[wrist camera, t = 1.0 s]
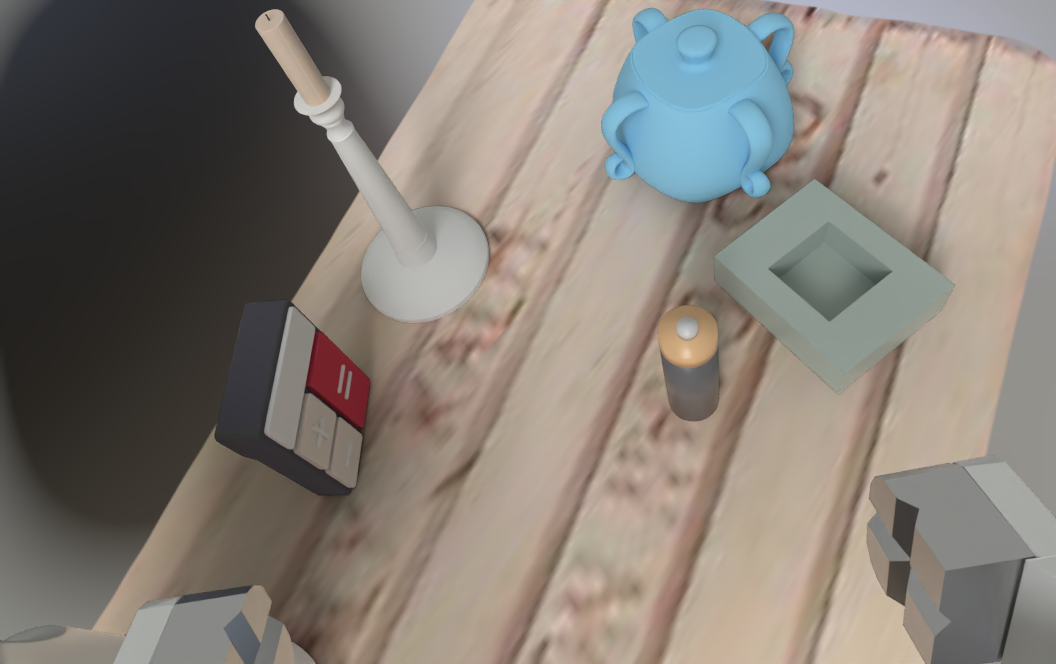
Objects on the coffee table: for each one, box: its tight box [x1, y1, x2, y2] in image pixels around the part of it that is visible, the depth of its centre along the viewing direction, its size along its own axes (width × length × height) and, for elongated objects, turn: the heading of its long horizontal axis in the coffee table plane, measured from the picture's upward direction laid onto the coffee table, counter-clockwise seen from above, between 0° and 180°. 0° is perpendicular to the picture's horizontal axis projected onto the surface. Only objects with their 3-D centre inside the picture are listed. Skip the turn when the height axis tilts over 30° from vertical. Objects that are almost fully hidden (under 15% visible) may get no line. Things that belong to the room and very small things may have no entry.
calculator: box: [215, 299, 370, 495], centre depth 61 cm, size 11×4×15 cm, turn 178°
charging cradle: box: [714, 179, 955, 394], centre depth 62 cm, size 11×14×4 cm
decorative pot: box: [601, 8, 794, 203], centre depth 67 cm, size 16×16×14 cm
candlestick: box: [255, 10, 490, 323], centre depth 61 cm, size 13×13×30 cm
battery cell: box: [658, 305, 719, 421], centre depth 57 cm, size 4×4×13 cm
